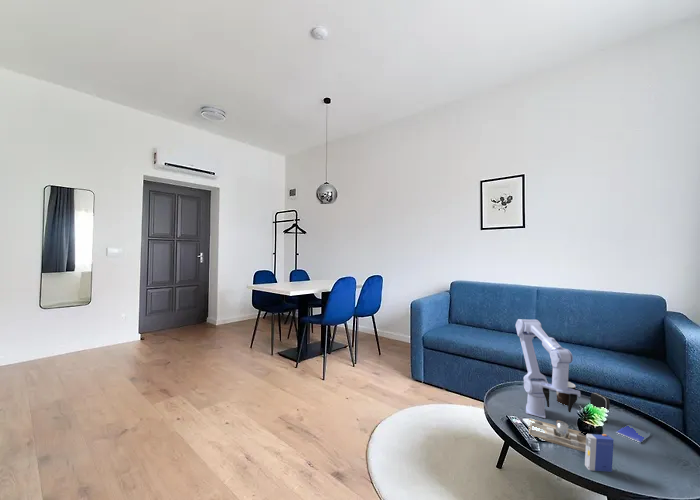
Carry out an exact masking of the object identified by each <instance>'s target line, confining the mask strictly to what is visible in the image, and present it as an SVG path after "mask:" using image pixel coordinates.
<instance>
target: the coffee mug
mask: <svg viewBox="0 0 700 500" xmlns="http://www.w3.org/2000/svg"><path fill="white" fill-rule="evenodd" d="M568 388H571V389H574V390H576V384H574V383H573V382H571V381H568ZM555 393H556V402H557V401H558V402H560V403H562V404H565V405H569V394H566V393H560V392H557V391H555ZM558 402H557V403H558Z"/></svg>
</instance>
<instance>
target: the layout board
mask: <svg viewBox="0 0 700 500" xmlns="http://www.w3.org/2000/svg"><path fill="white" fill-rule="evenodd" d="M529 420H531V421H534V422H535V423H532V422H530V427H529V426H528V435H529V434H530V435H532V436H534V437H538V438H541V439H543V440H542V441H544V440H545V442H548V443H552V444H555V445H559V446H562V447H565V448H570V449H573V450H576V451H580V452H583V453H585V451H586V435H584V434H583V433H584V432H583V433H581V432H582V431H579V430H576V429H572V428H568V439H565V438H562V437H558V436H556V426H557V421H562V420H556V425H555V424H553V423H548V422H545V421H541V420H537V419H533V418H530V417H529V418H528V421H529ZM562 422H564V421H562ZM532 426H534V427H537V428H540V429H543V430H544V431H545V433H543V432H540V431H536V430H532ZM529 428H530V429H529ZM534 437H533V438H534ZM541 439H540V440H541Z"/></svg>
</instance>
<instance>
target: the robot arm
mask: <svg viewBox="0 0 700 500" xmlns="http://www.w3.org/2000/svg"><path fill="white" fill-rule="evenodd" d="M514 326H515V329H516V334H517V337H519V341H520V343H521V344H520V345H521V350H522V352H523V357H524V363H525V366H526V370H527V373H526V374H525V375H524V376H523V387H524V390H525V392H526V393H527V398H526V399H527V400H526V401H527V403H526V404H525V414H527V415H531V416H534V417H539V418H544V419H547V418H546V409H545V405H546V407H548V408H550V394H551V393H550V392H552V391H553V392H556V391H557V392H560V393H566V394H569V405H568V406H567V412H568V413H572V412H571V411H572V409H573V406H574V405H575V403H576V402H577V401H578V398H581V391H580V390H577V389H575V390H574V389H571V388H568V382H569V371H570V366H569V365H570V364H571V363H573V359H574V357H573V354H572V352H571V351H570V349H568V348H565V347H563V346H562V345H560V344H559V343H558V342H557V340H556V339H555V338H554V337H551V336H548V334H547V333H546V332H545V331H544V329H543V328H542V323H541V322H540V321H539V320H538V319H524V318H523V319H521V318H518V319H517V320H516V322H515V325H514ZM535 337H537V339H538V340H540V341H541V345H542V347H543V348H544V349H545V350H546V352H547V353H548V354H549V357H550V360H551V366H552V373H551V375H552V376H551V383H549V382H548V380H547V376H546V375H544V374H543V373H541V371H540V367H539V363H538V360H537V355H536V352H535V347H534V343H533V338H535ZM545 403H546V404H545Z"/></svg>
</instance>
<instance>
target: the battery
mask: <svg viewBox="0 0 700 500" xmlns="http://www.w3.org/2000/svg"><path fill="white" fill-rule="evenodd" d="M589 398H590V401H589V403H590V404H593V405H594V406H596V407H604V408H606V409H607V410H610V407H611V406H610V399H609V397H607V396H606V395H603V394H600V393H598V392H593V393H591V394H590V397H589ZM590 404H589V405H590ZM607 422H608V420H607V421H606V422H605V423H607Z"/></svg>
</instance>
